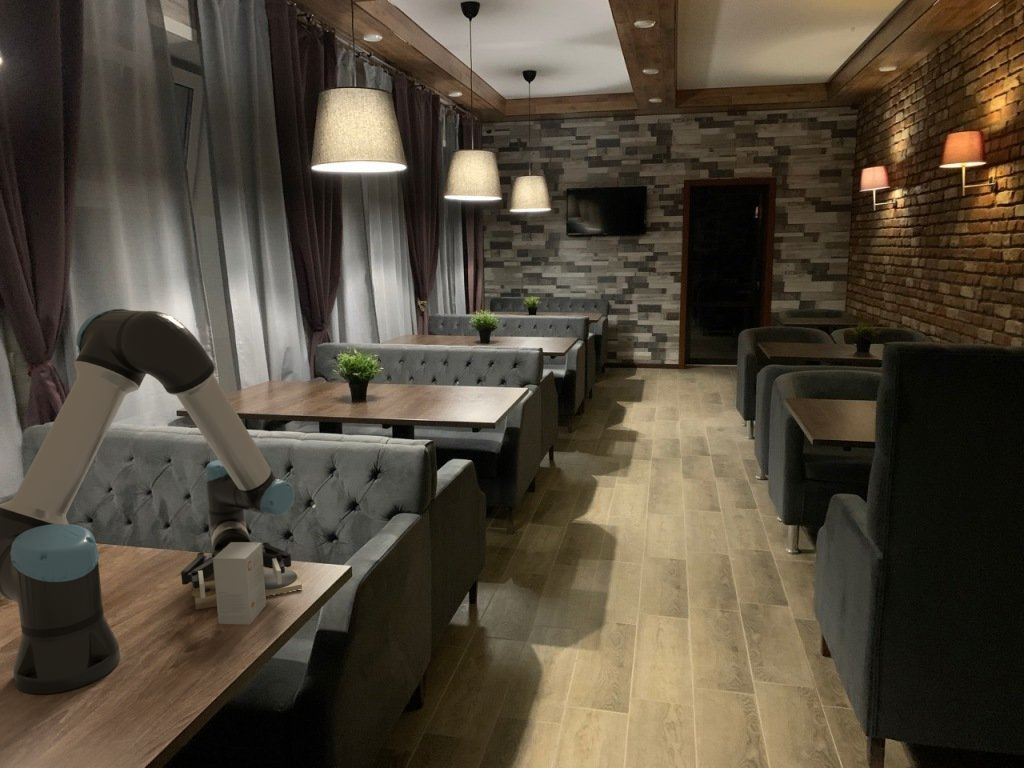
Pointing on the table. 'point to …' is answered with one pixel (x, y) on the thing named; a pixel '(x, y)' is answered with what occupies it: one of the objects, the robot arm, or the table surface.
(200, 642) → the table surface
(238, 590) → the small box
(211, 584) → the board
